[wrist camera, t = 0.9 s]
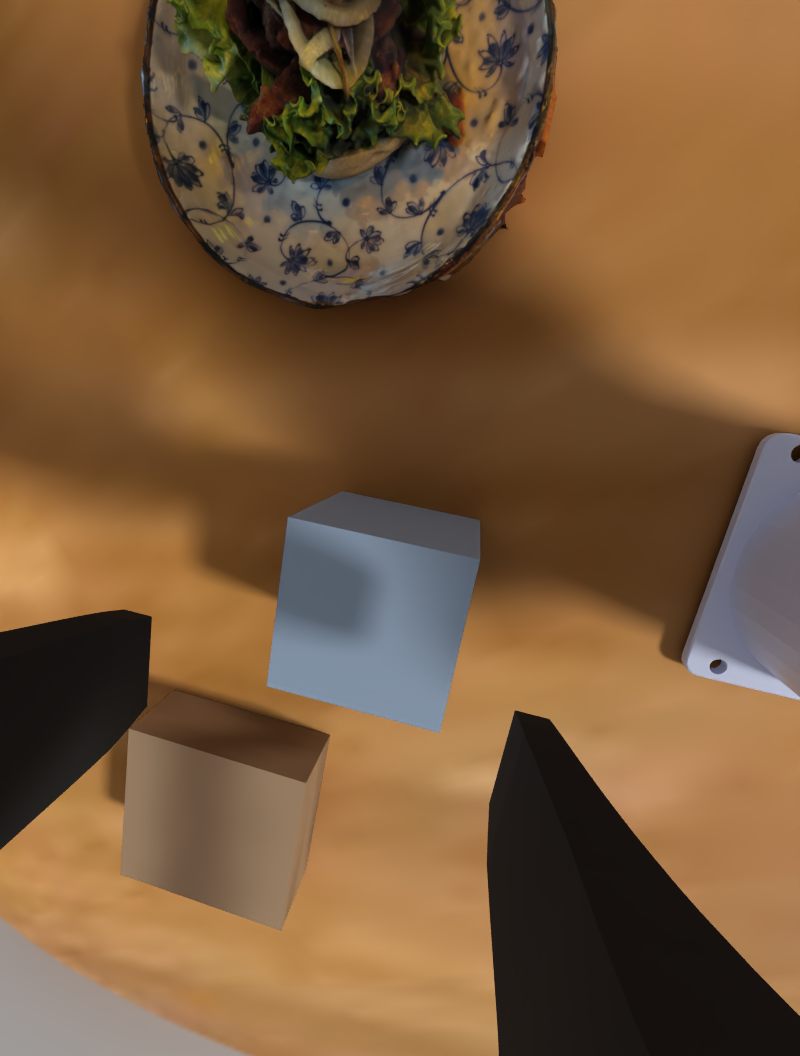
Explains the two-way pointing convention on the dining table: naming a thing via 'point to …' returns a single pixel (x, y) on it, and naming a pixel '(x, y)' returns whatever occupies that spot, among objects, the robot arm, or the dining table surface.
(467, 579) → the blue cube
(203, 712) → the walnut block
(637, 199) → the dining table surface
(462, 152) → the salad bowl
